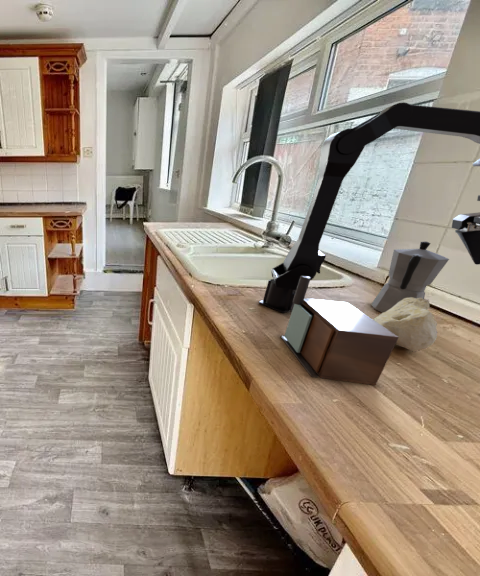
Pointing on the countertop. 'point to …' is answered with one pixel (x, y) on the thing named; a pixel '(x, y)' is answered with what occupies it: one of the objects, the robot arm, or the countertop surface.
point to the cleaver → (298, 316)
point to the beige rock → (410, 323)
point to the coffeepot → (409, 275)
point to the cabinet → (343, 343)
